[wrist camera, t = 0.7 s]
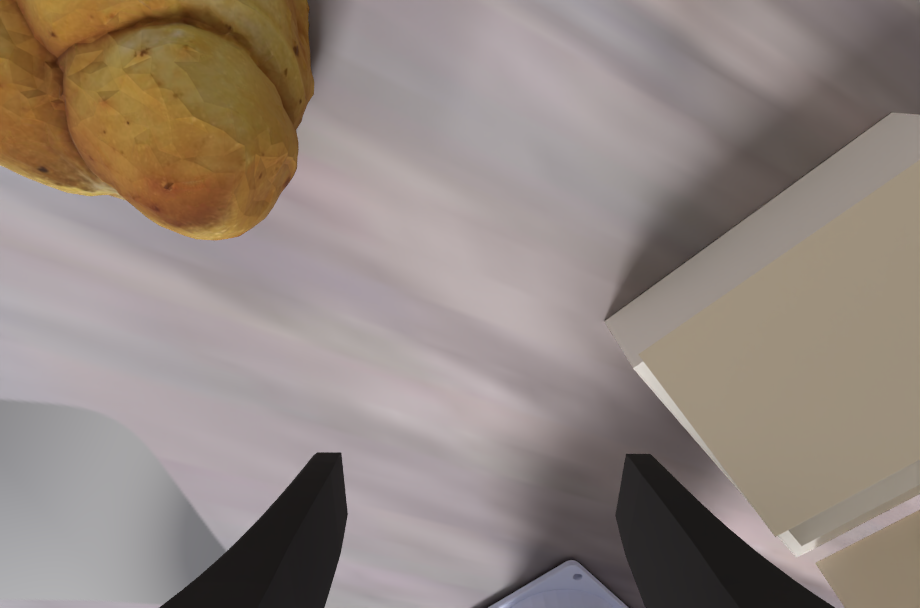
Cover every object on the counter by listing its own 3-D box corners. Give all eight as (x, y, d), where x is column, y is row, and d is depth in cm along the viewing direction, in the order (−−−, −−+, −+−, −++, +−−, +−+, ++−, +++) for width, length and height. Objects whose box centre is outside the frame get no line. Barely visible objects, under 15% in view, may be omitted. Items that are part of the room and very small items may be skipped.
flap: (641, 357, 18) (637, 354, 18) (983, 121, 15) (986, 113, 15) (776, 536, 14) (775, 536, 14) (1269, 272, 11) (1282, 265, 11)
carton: (1008, 343, 23) (1113, 393, 19) (749, 491, 26) (796, 557, 23) (891, 112, 19) (995, 119, 15) (604, 321, 22) (633, 368, 19)
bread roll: (-9, 152, 20) (-291, 194, 12) (-71, -169, 16) (-536, -391, 8) (328, 206, 20) (256, 275, 13) (346, -86, 17) (258, -219, 9)
